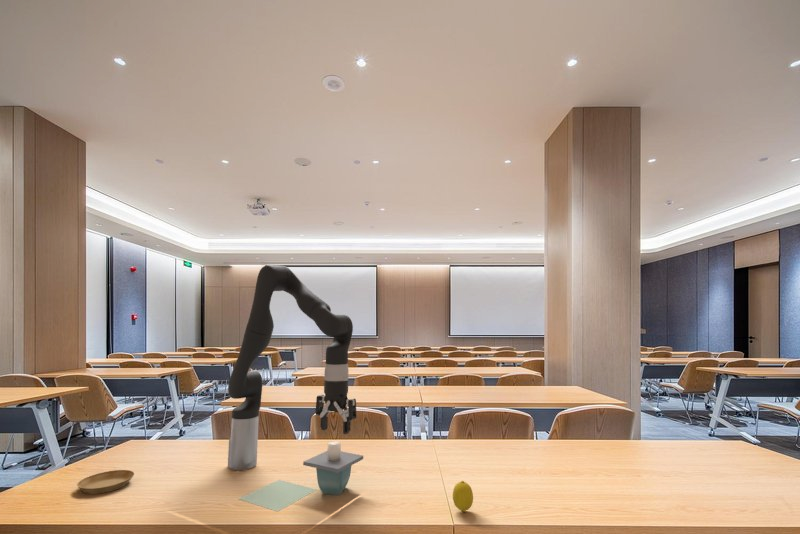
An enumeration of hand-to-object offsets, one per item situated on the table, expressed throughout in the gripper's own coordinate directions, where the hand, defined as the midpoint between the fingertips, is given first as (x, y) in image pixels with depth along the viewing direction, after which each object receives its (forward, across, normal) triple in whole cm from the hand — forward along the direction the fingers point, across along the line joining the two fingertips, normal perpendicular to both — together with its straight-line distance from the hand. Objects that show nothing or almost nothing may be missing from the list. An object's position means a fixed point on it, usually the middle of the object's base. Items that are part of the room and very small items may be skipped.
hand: (335, 431), depth 124 cm
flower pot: (+18, 0, 0) cm, 18 cm away
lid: (+9, 0, 0) cm, 9 cm away
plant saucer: (+19, -67, -31) cm, 76 cm away
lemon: (+18, +39, +7) cm, 43 cm away
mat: (+18, -13, -10) cm, 24 cm away
